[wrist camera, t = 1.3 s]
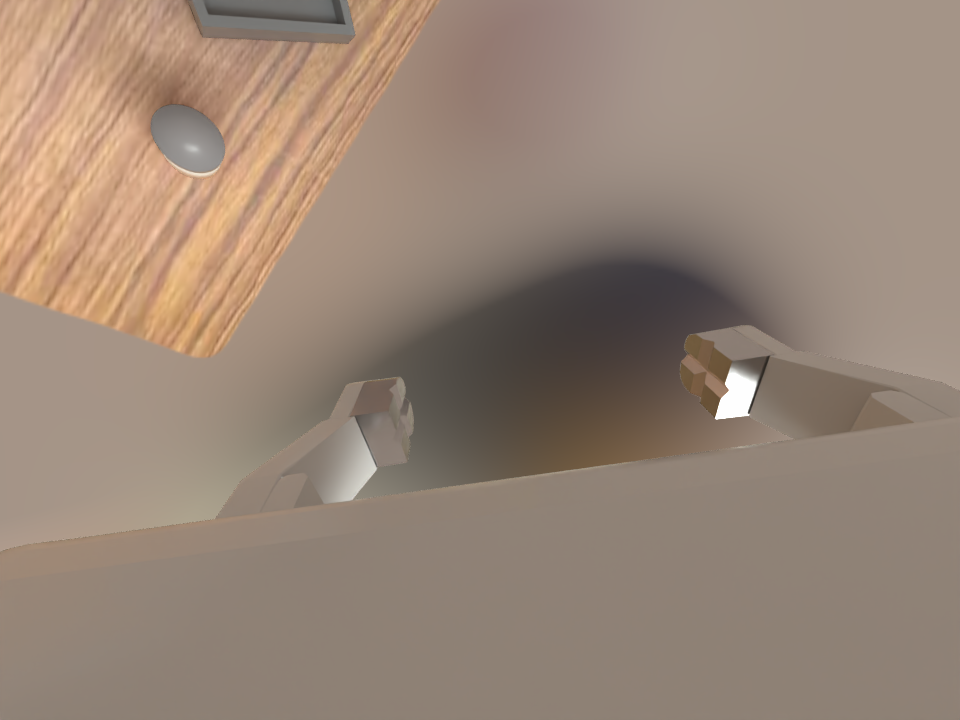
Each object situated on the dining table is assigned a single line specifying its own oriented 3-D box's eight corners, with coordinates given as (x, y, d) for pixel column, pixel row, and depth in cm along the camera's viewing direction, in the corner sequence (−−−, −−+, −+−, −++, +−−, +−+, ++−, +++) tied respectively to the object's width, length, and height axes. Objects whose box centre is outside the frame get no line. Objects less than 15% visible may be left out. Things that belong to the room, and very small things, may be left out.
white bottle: (178, 182, 34) (172, 174, 27) (151, 129, 32) (136, 105, 24) (228, 176, 36) (235, 167, 29) (206, 126, 34) (207, 103, 26)
